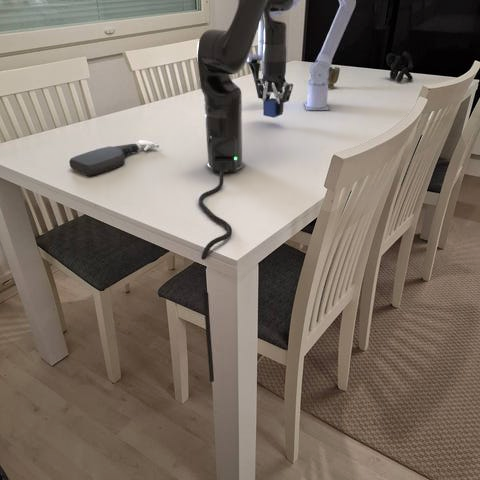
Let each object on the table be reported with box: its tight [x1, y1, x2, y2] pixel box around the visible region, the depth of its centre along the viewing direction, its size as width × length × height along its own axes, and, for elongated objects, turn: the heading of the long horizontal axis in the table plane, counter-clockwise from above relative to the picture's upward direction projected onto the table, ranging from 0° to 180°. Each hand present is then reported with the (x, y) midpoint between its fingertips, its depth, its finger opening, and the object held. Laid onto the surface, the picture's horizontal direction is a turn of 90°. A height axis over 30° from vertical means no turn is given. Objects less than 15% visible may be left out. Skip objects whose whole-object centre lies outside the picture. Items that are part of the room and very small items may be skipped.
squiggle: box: [385, 51, 414, 83], centre depth 198 cm, size 11×10×15 cm
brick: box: [262, 97, 283, 118], centre depth 146 cm, size 4×5×5 cm
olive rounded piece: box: [327, 66, 341, 89], centre depth 188 cm, size 8×7×8 cm
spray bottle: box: [68, 139, 160, 177], centre depth 124 cm, size 3×11×24 cm
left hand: (272, 113), depth 147 cm, fingers closed on brick, 4 cm apart
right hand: (265, 81), depth 162 cm, fingers open, 7 cm apart
